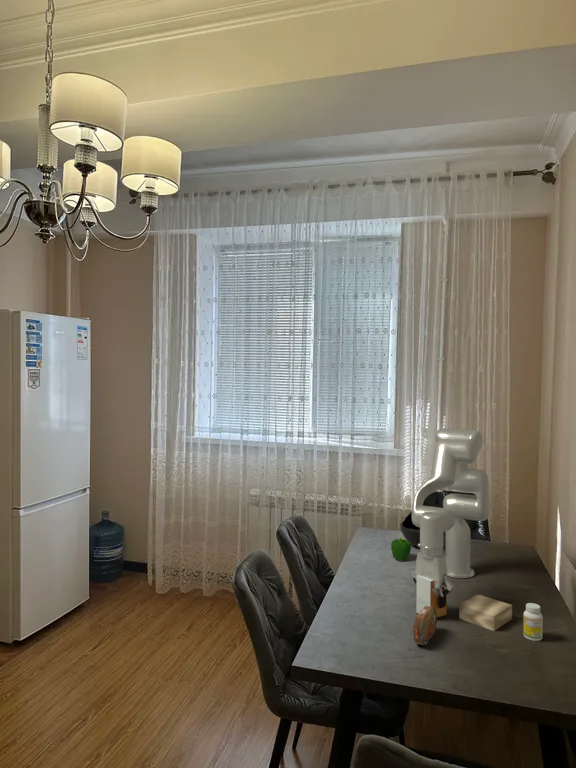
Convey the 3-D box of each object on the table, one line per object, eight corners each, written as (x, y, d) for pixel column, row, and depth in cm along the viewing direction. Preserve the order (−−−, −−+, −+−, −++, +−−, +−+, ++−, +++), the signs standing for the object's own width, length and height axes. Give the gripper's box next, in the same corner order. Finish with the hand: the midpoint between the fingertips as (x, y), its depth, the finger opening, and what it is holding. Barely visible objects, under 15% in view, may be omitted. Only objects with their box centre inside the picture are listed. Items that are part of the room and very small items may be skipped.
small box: (430, 621, 180) (430, 581, 179) (415, 614, 185) (415, 575, 185) (447, 614, 184) (447, 575, 184) (432, 608, 189) (432, 570, 189)
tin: (422, 650, 161) (422, 621, 161) (411, 647, 163) (411, 619, 162) (437, 629, 174) (437, 603, 174) (427, 627, 175) (427, 601, 175)
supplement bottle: (538, 643, 165) (538, 611, 165) (520, 636, 169) (520, 605, 168) (545, 637, 168) (545, 605, 168) (527, 631, 172) (528, 600, 172)
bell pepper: (396, 554, 244) (396, 532, 244) (413, 558, 240) (413, 535, 239) (387, 560, 238) (387, 536, 237) (405, 564, 233) (405, 540, 232)
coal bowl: (431, 556, 241) (431, 513, 241) (391, 547, 255) (391, 506, 254) (452, 546, 256) (452, 505, 256) (414, 537, 270) (414, 498, 269)
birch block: (459, 619, 181) (459, 604, 181) (477, 608, 190) (477, 594, 189) (493, 632, 173) (494, 616, 173) (512, 620, 181) (512, 605, 181)
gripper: (403, 546, 189) (403, 597, 189) (446, 559, 175) (446, 615, 175) (417, 541, 193) (417, 592, 194) (461, 554, 179) (460, 608, 180)
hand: (431, 602), depth 184 cm, fingers open, 7 cm apart
